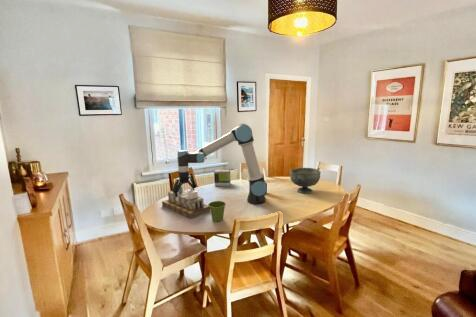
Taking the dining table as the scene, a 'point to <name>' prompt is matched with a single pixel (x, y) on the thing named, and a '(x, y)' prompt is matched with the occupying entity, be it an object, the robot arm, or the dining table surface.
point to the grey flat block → (185, 209)
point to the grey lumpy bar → (186, 200)
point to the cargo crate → (192, 194)
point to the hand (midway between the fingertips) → (185, 198)
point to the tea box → (222, 177)
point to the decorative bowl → (305, 178)
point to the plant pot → (217, 210)
